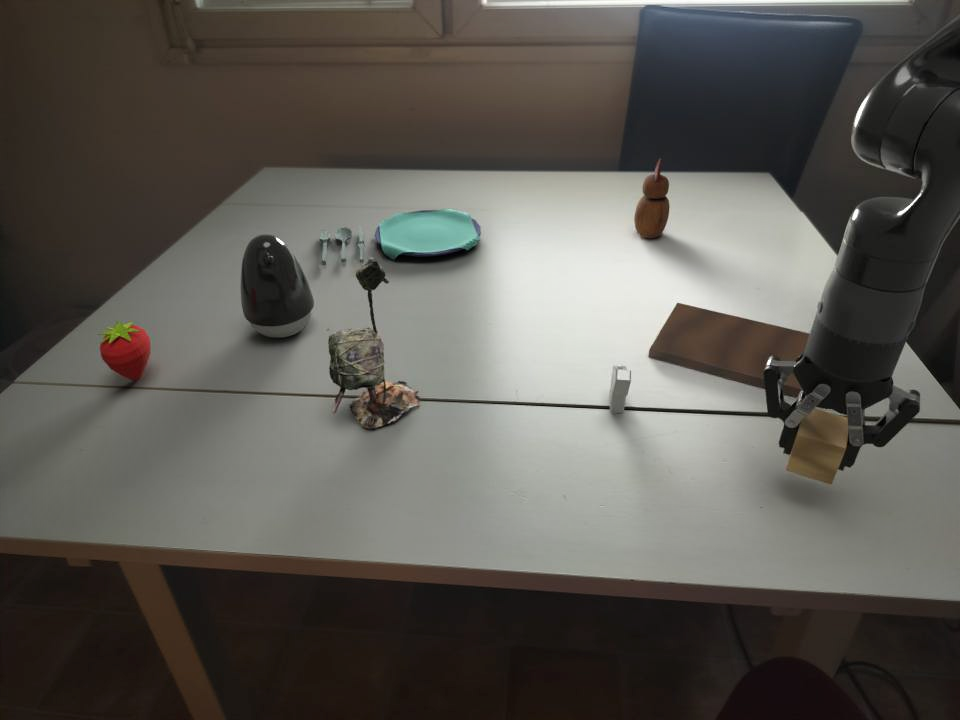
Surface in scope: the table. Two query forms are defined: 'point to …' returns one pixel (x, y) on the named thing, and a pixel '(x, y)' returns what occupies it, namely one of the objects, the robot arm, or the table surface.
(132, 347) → the strawberry
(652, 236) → the wooden figurine
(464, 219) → the cutlery set
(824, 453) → the beech block
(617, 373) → the lighter
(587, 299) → the table surface
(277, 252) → the black egg shaped dome
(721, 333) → the walnut board
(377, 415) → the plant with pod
